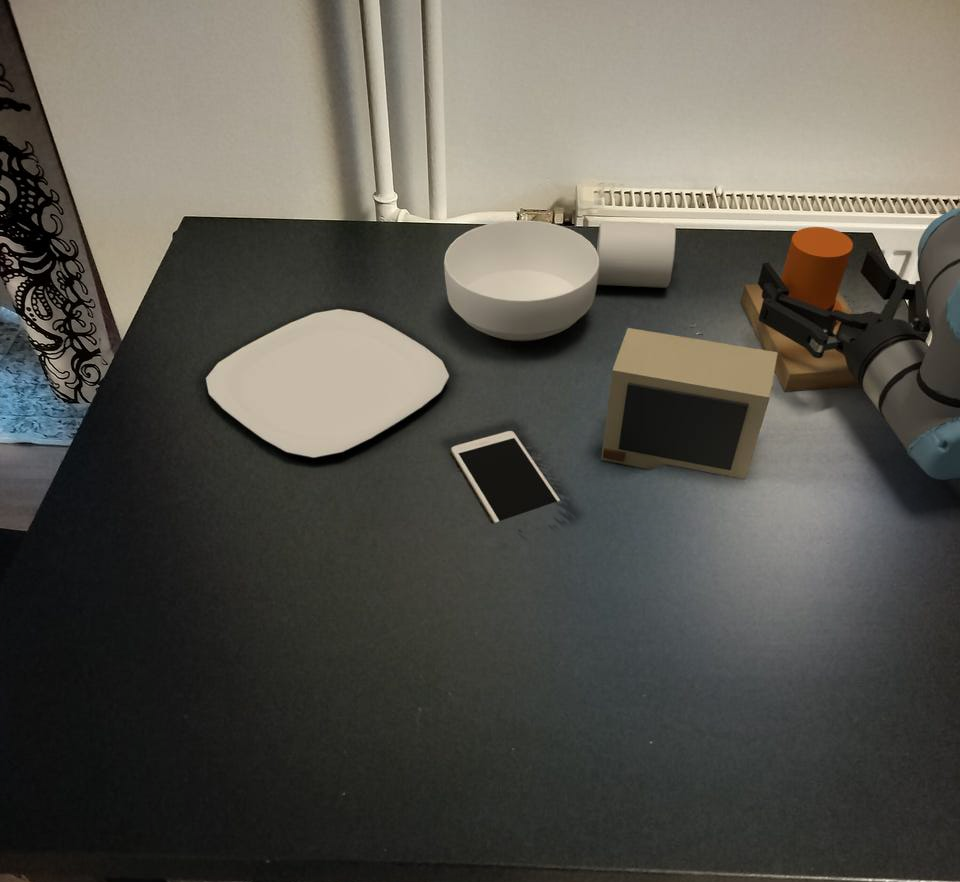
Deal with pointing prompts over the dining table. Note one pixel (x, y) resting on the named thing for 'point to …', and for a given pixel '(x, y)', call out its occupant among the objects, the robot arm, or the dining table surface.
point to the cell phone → (503, 475)
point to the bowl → (521, 278)
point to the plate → (326, 382)
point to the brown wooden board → (798, 352)
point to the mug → (635, 253)
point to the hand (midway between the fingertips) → (815, 267)
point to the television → (686, 403)
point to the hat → (817, 266)
